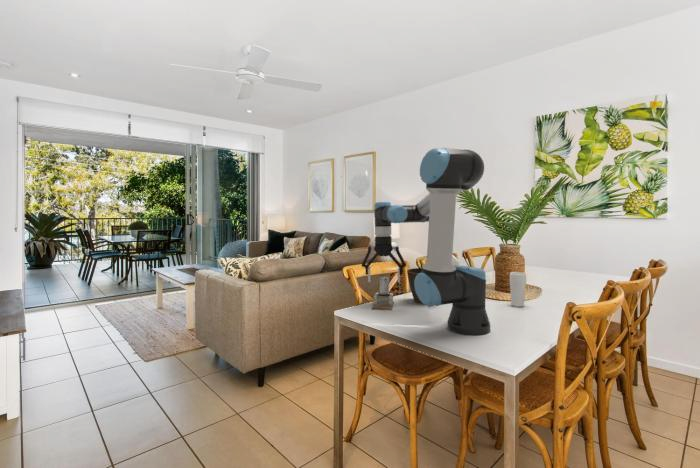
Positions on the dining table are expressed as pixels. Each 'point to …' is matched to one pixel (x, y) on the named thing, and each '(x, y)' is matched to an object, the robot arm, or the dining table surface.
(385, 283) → the pin
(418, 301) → the plant pot
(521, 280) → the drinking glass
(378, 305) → the socket board
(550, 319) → the dining table surface
